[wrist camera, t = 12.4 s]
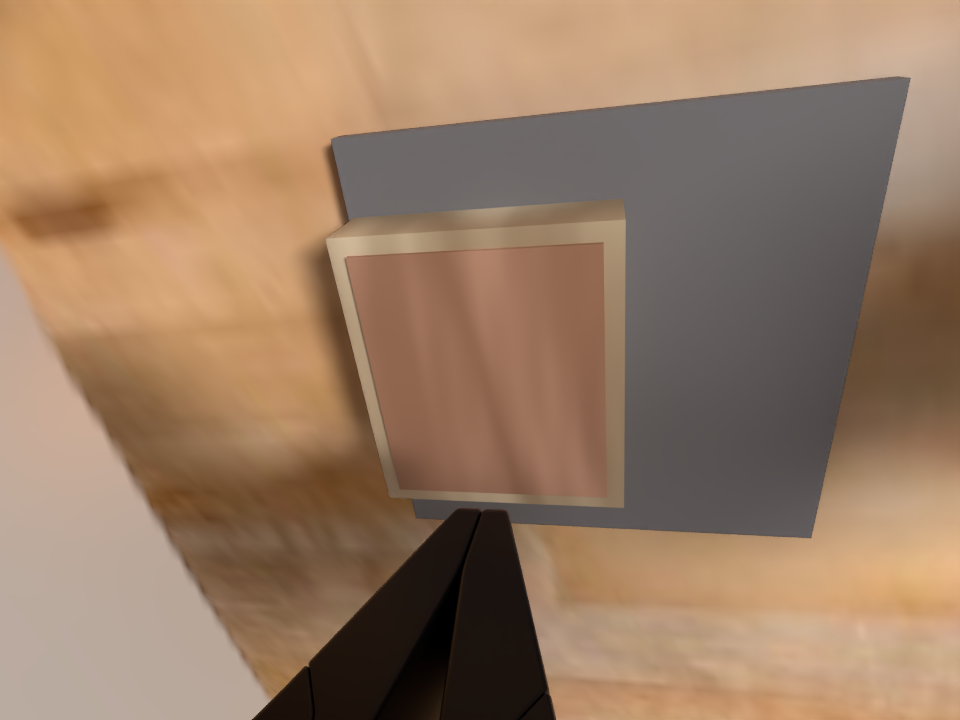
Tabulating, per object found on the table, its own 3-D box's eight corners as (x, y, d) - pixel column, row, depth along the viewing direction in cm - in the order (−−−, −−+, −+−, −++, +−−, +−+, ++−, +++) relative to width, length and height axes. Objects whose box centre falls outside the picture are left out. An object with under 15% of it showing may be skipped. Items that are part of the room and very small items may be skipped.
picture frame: (626, 221, 10) (322, 240, 12) (624, 510, 14) (388, 500, 15) (622, 198, 12) (354, 217, 13) (622, 465, 15) (407, 459, 16)
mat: (897, 76, 10) (910, 78, 10) (805, 524, 15) (811, 538, 15) (339, 135, 13) (330, 139, 12) (420, 506, 18) (416, 518, 17)
